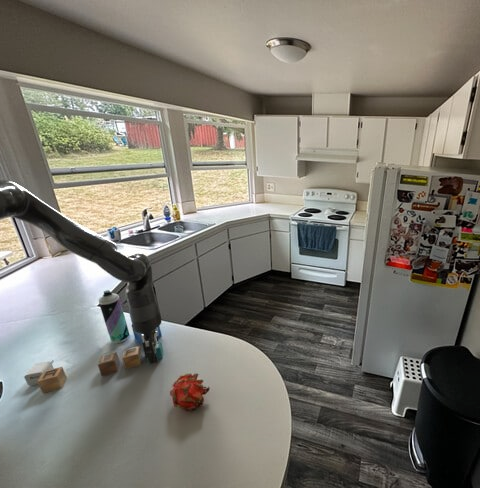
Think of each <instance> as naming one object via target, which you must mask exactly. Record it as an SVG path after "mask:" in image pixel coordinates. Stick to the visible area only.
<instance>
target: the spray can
mask: <svg viewBox="0 0 480 488" xmlns="http://www.w3.org/2000/svg"><path fill="white" fill-rule="evenodd" d="M98 305H99V308H100V310H101V311H100V312H101V314H102V317H103V320H104V324H105V326H106V330H107V334H108V336H109V339H110V342H111V343H112V344H120V343H123V342H125V341H127V340H128V339H129V338H130V336H131V335H130V331H129V327H128V324H127V319H126V317H125V313H124V310H123V306H122V303H121V299H120V295H119V294H118V293H113V292H111V290H104V291H103V294H102V296H100V297H99V298H98Z"/></svg>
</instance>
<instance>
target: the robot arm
mask: <svg viewBox="0 0 480 488" xmlns="http://www.w3.org/2000/svg"><path fill="white" fill-rule="evenodd" d="M7 218H14V219H15V220H16V219H17V220H19V221H22V222H25V223H27V224H29V225H32V226H34V227H35V228H37V229H39V230H40V231H42V232H44V233H45V234H47V235H48V236H49V237H50V238H51V239H53V241H55V242H56V244H58V245H59V246H61V247H62V248H64V249H65V250H66V251H68V252H70V253H72V254H73V255H76V256H78V257H80V258H82V259H85V260H87V261H89V262H91V263H93V264H96V265H97V266H98V267H99V268H100V269H102V270H103V271H104V272H106V273H107V274H109V275H110V276H111V277H113V278H114V279H116V280H119V281H120V282H124V283H126V284H127V285H126V288H125V299H126V301H127V302H126V303H127V306H128V313H129V317H130V321H131V326H132V325H133V329H134V331H135V332H137V333H143V335H142V340H143V342H142V344H141V346H142V349H143V353H144V358H145V359H147V358H148V359H149V362H148V363H149V365H154V364H157V363H159V359H158V358H157V354H156V345H157V341H160V339H159V338H158V327H159V326H160V325H161V324H162V316H161V312H160V307H159V304H158V301H157V298H156V293H155V290H154V287H153V268H152V263H151V260H150V258H149V256H147V255H146V253H145V254H144V253H142V252H139V251H134V252H130V253H128V254H126V255H124V253H122V252H120V251H119V250H118V249H119V248H118V244H116V243H115V242H113V241H111V240H109V239H107V238H106V237H104V236H102V235H99V234H97V233H96V232H94V231H92V230H90V229H89V228H87V227H84V226H82V225H81V224H79V223H77V222H75V221H73V220H72V219H71V218H69V217H67V216H65V215H64V214H62V213H61V212H59V211H58V210H57V209H54V207H52V206H50V205H49V204H47V203H45V202H44V201H43V200H41V199H40V198H38V197H37V196H35V194H33V193H32V192H30V191H28V189H26V188H24V187H23V186H21V185H19V184H17V183H16V182H13V181H10V180H7V179H2V178H0V221H1V220H4V219H5V220H6V219H7ZM160 327H161V326H160ZM133 329H132V330H133ZM153 342H154V344H153ZM148 359H147V360H148Z"/></svg>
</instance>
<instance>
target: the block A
mask: <svg viewBox="0 0 480 488" xmlns="http://www.w3.org/2000/svg"><path fill="white" fill-rule="evenodd" d="M67 378H68V377H67V375H66V372H65V370H64V367H63V366H59V367H55V368H54V369H51V370H47V371H44V372H43V373H42V375H41V377H40V378H39V380H38V384H37V385H38V386H39V388H40V390H41V393H42V394H46V393H49V392H53V391H57V390H59V389H62V388H63V386H64V384H65V382H66V380H67Z"/></svg>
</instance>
